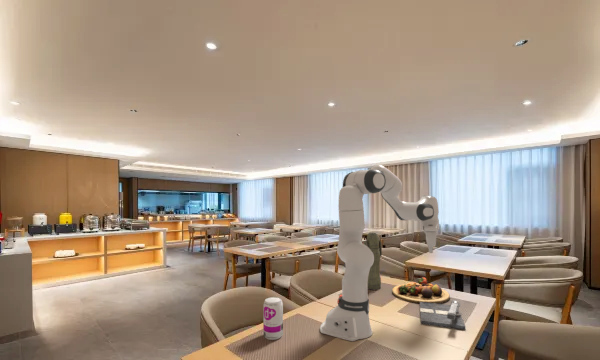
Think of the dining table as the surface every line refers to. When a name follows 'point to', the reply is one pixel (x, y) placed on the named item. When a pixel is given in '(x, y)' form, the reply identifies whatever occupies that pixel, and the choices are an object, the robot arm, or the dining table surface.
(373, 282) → the dark olive tall piece
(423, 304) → the board
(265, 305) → the supplement can
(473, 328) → the dining table surface
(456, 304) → the swing bar
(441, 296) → the wooden plate with food
